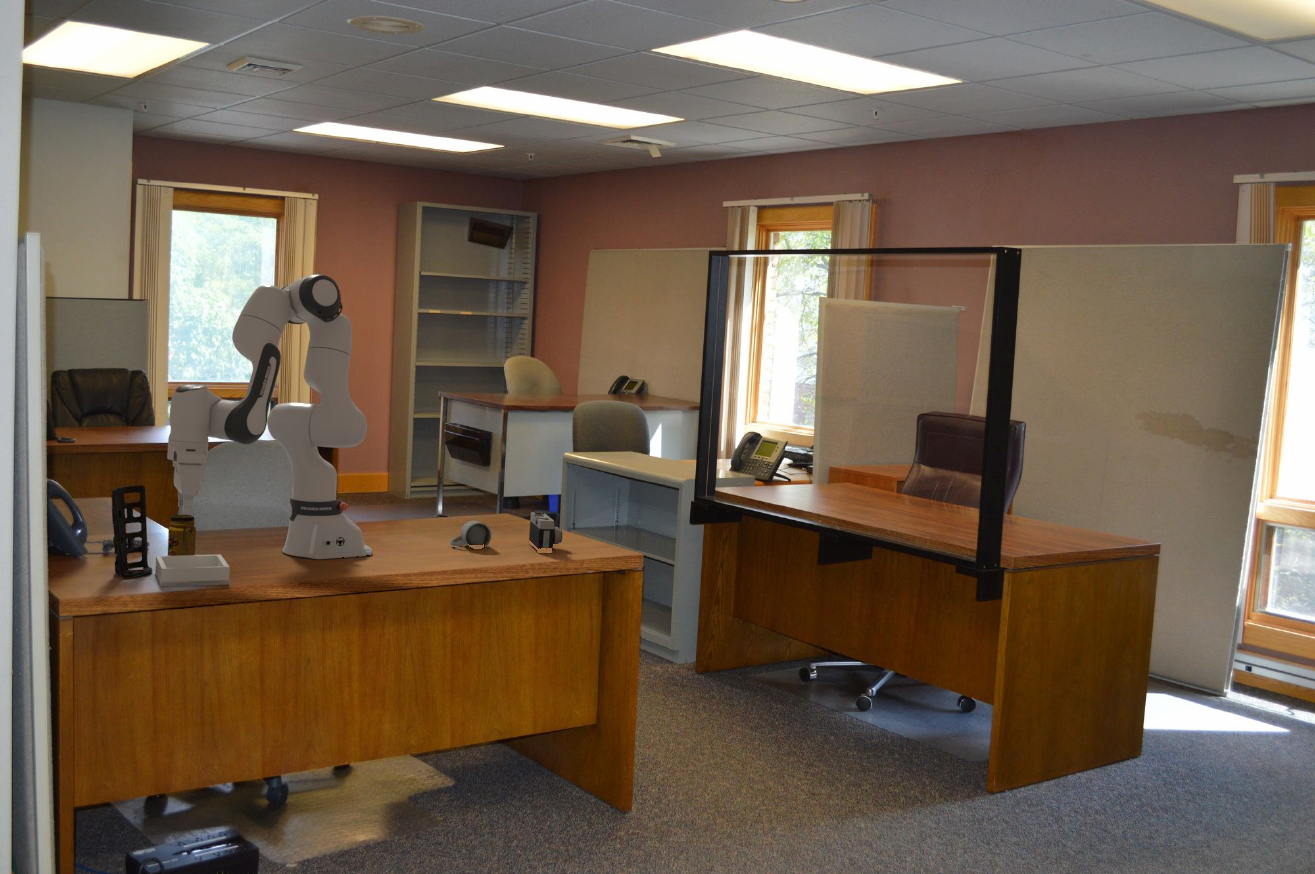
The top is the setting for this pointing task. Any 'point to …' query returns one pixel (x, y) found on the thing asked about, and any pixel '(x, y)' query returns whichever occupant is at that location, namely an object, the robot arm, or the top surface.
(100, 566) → the top surface
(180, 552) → the condiment
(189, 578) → the tray
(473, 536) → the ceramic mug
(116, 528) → the holder
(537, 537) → the camera
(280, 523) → the top surface
